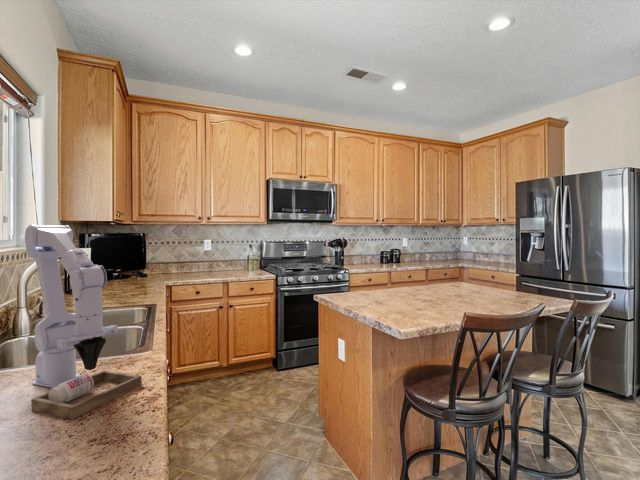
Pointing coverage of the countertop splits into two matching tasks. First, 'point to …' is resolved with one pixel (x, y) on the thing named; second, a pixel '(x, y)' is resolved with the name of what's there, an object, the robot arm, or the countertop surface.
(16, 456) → the countertop surface
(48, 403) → the walnut frame
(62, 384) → the pill bottle
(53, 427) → the countertop surface
